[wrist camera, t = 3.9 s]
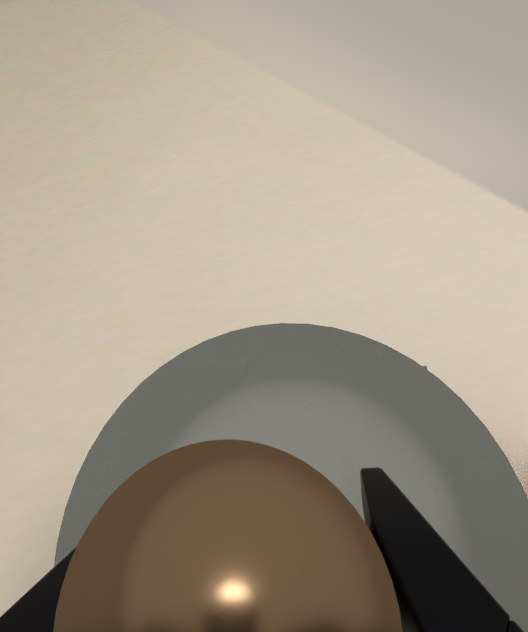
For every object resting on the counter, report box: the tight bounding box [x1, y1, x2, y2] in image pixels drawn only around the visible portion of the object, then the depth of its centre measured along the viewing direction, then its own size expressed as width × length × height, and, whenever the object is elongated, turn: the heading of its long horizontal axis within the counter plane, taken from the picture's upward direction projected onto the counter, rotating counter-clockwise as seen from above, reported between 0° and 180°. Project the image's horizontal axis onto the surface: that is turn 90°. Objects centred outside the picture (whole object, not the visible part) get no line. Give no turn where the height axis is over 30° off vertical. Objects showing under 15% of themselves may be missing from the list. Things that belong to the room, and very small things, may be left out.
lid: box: [53, 323, 528, 632], centre depth 8 cm, size 12×12×7 cm
